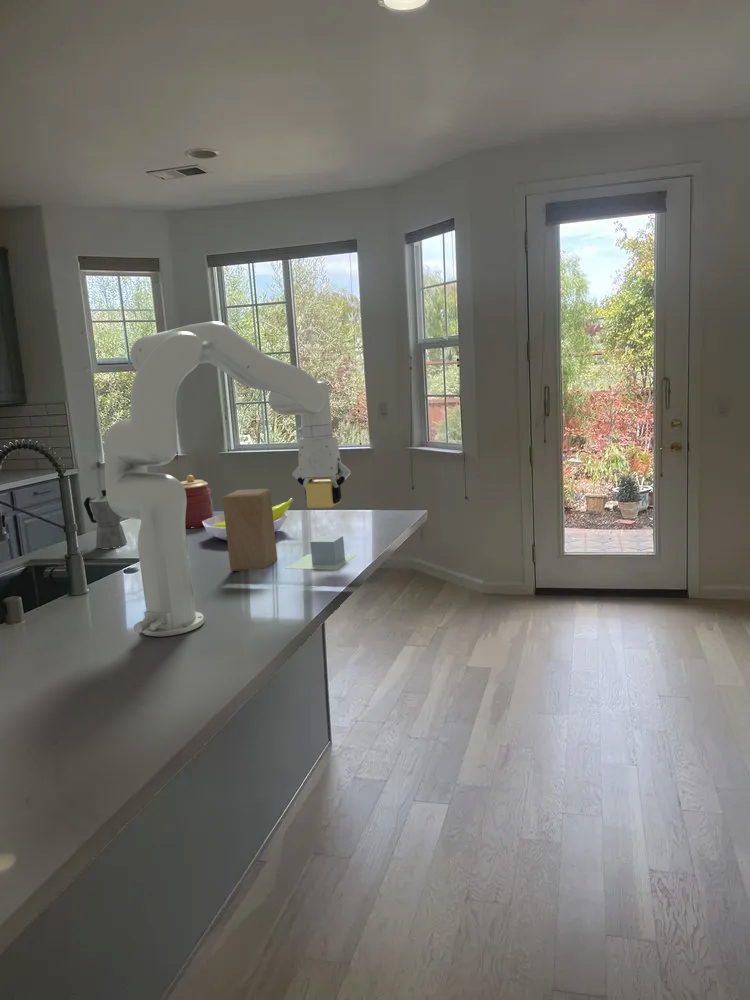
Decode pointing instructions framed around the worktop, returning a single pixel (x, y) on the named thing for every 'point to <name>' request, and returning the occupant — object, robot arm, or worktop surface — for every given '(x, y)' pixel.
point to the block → (250, 529)
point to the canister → (197, 502)
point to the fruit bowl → (218, 527)
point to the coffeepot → (105, 522)
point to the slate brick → (327, 550)
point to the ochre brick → (319, 493)
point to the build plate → (307, 564)
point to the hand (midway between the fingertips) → (323, 502)
